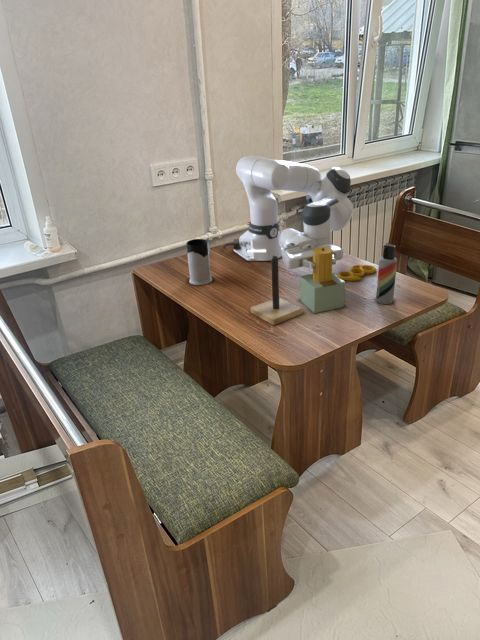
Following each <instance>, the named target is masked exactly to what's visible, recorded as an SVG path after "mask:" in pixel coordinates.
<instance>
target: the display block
mask: <svg viewBox="0 0 480 640" xmlns="http://www.w3.org/2000/svg"><path fill="white" fill-rule="evenodd" d="M332 280H334V281H335V282H337V283H338V284H336V285H331V286H326V287H323V286H322V285H321V284H320V282H315V281H314V280H313V273H309V274H304V275H300V276H299V301H300V302H301V303H302V304H303V305H304V306H306V307H307V308H308V309H309V310H310V311H311V312H312V313H314V314H317V313H323V312H326V311H331V310H336V309H340V308H341V309H342V308H344V307H345V289H346V281H345V280H341V279H340V278H339V277H337V275H336V274H335V273H333V272H332Z"/></svg>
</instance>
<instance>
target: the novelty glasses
mask: <svg viewBox="0 0 480 640" xmlns="http://www.w3.org/2000/svg"><path fill="white" fill-rule="evenodd" d="M376 269H377V268H376V267H375V266H374V265H369V264H356V265H353V266H352V268H350V269H349V271H345V270H344V271H340V272H338V273H337V275H336V276H337V277H339V278H340V279H341V280H343V281H345V282H346V281H348V282H355V281H360V280H361V279H362V277H363V276H365V275H371V274H374V273H376Z"/></svg>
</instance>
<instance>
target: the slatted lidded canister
mask: <svg viewBox="0 0 480 640" xmlns="http://www.w3.org/2000/svg"><path fill="white" fill-rule="evenodd" d="M332 258H333V250H332V249H331V248H328V247H318V248H315V249H314V250H313V262H314V263H315V268H313V269H312V274H313V280H314V281H315V282H320V284H321V285H322V286H323V287H326V286H331V285H336V284H338V283H337V282H335V281H334V280H332V273H333V265H332Z"/></svg>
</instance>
